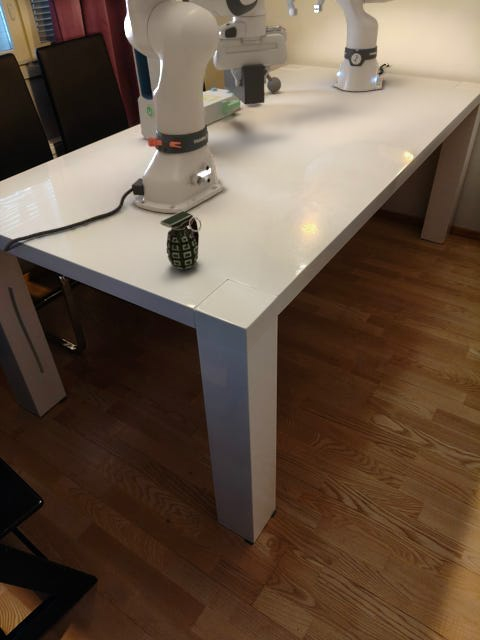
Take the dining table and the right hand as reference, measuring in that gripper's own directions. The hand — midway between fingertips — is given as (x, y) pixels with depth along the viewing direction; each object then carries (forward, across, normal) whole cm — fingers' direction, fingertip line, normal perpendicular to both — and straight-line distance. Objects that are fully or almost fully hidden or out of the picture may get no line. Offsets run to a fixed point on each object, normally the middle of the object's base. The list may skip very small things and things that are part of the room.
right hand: (306, 14), depth 142 cm
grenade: (+30, +75, +56) cm, 98 cm away
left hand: (+14, +24, +5) cm, 28 cm away
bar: (+19, +21, -4) cm, 28 cm away
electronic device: (+30, +43, -16) cm, 55 cm away
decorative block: (+30, +20, -28) cm, 46 cm away
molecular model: (+30, -8, -37) cm, 48 cm away
